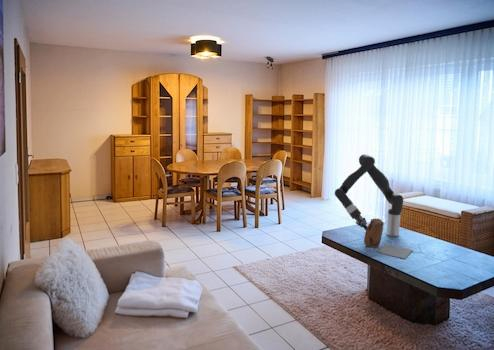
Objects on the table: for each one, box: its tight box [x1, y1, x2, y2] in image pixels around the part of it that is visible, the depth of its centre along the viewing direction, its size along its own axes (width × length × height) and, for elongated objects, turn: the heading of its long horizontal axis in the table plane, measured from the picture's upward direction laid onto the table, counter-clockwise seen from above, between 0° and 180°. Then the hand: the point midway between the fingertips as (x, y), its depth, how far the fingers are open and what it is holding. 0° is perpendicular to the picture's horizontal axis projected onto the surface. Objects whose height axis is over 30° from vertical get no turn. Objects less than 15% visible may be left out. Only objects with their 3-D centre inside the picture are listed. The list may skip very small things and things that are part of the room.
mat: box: [374, 243, 414, 260], centre depth 285 cm, size 20×20×1 cm
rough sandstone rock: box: [363, 218, 385, 248], centre depth 292 cm, size 11×8×20 cm
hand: (368, 230), depth 295 cm, fingers closed
